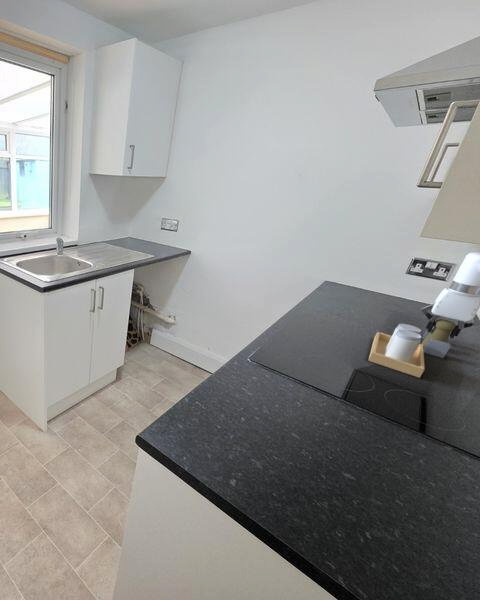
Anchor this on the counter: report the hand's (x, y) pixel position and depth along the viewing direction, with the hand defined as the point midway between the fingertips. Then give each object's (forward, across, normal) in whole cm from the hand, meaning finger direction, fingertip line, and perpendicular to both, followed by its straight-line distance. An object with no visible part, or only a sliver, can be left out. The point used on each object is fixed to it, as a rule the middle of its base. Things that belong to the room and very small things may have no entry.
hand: (439, 333), depth 115 cm
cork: (+6, 0, 0) cm, 6 cm away
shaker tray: (+6, +10, +22) cm, 24 cm away
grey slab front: (+6, 0, +8) cm, 10 cm away
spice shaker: (+5, +10, +22) cm, 25 cm away
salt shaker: (+5, +10, +28) cm, 31 cm away
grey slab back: (+6, 0, -8) cm, 10 cm away
